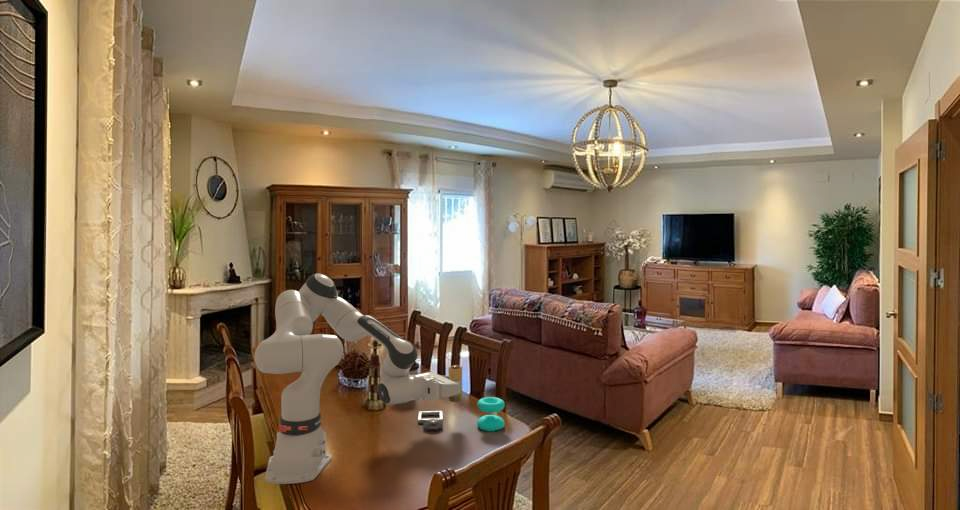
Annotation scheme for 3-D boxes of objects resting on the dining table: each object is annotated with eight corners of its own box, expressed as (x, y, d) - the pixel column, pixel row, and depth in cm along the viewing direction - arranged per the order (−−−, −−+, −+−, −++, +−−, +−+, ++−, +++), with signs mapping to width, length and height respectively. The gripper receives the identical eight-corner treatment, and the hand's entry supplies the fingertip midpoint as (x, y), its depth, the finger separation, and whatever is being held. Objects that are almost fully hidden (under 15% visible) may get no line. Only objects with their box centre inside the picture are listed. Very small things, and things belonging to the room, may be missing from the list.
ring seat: (442, 423, 194) (442, 419, 194) (418, 423, 193) (418, 419, 193) (442, 414, 203) (442, 410, 203) (418, 414, 202) (418, 411, 202)
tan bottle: (462, 401, 191) (462, 367, 190) (449, 402, 190) (448, 368, 190) (461, 397, 196) (461, 364, 195) (448, 397, 195) (448, 364, 195)
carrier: (443, 431, 186) (443, 424, 186) (423, 431, 185) (423, 425, 185) (442, 419, 197) (442, 412, 197) (423, 419, 197) (423, 413, 197)
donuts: (472, 401, 188) (486, 394, 197) (472, 428, 189) (485, 420, 197) (496, 406, 183) (509, 398, 192) (496, 434, 184) (509, 425, 192)
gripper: (409, 387, 194) (441, 381, 202) (437, 402, 177) (471, 395, 185) (410, 370, 193) (442, 365, 201) (437, 384, 177) (471, 377, 185)
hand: (456, 380), depth 193 cm, fingers closed on tan bottle, 5 cm apart
